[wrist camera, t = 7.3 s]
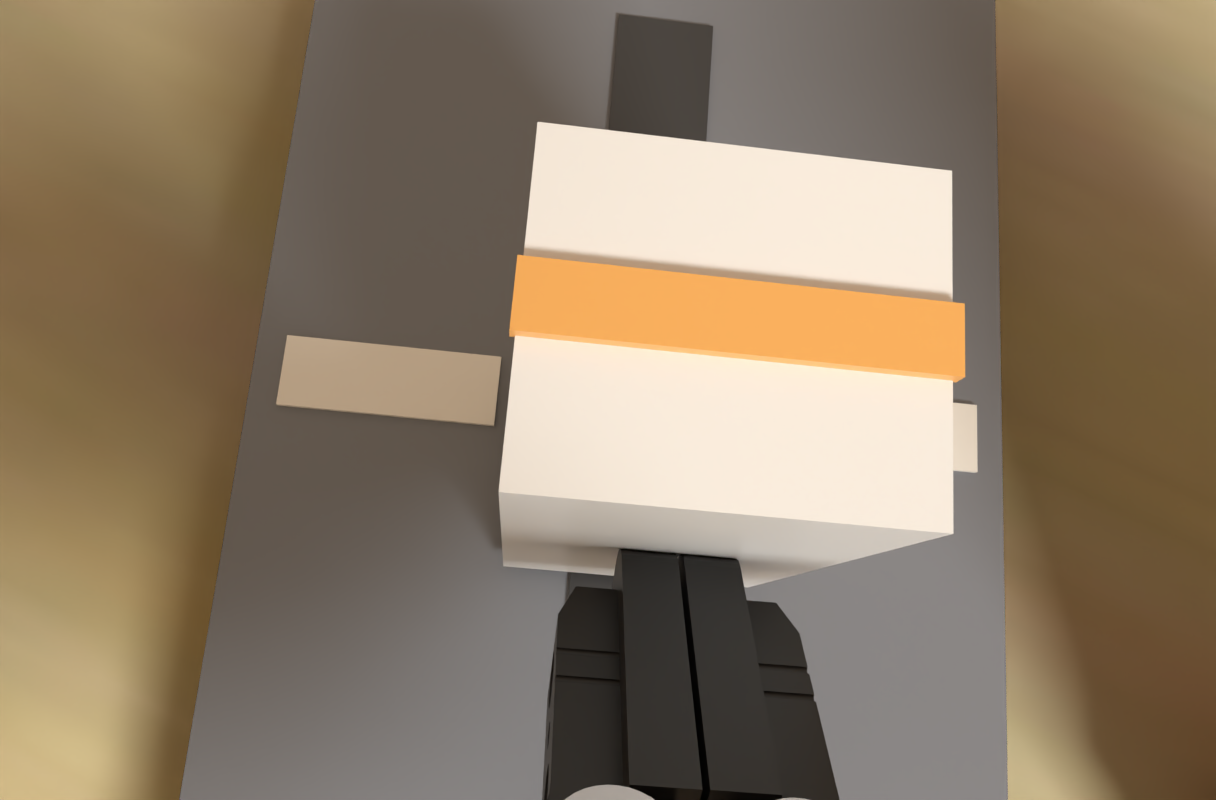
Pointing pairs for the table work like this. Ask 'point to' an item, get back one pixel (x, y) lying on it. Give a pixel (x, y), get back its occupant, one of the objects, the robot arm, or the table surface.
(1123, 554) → the table surface
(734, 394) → the fader tab
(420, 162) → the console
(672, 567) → the robot arm
